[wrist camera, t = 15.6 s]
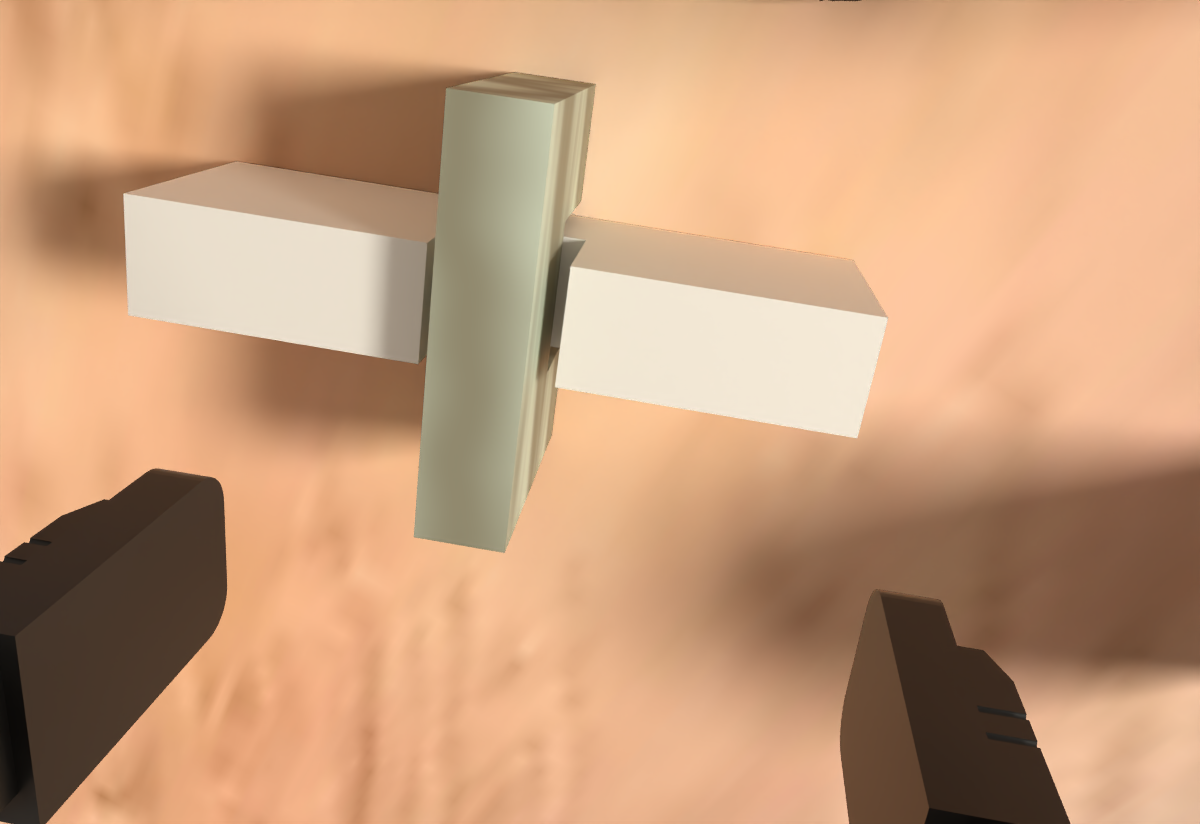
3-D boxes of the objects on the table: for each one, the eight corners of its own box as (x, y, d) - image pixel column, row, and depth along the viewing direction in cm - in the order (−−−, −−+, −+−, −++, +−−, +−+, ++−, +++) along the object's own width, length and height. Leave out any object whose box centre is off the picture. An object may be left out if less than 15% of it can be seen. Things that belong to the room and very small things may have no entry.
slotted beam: (853, 260, 38) (888, 317, 30) (830, 359, 39) (857, 438, 32) (236, 161, 39) (123, 193, 31) (236, 261, 40) (128, 315, 33)
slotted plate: (595, 84, 36) (554, 104, 27) (551, 435, 41) (504, 552, 32) (514, 72, 36) (446, 88, 27) (480, 423, 42) (413, 537, 32)
